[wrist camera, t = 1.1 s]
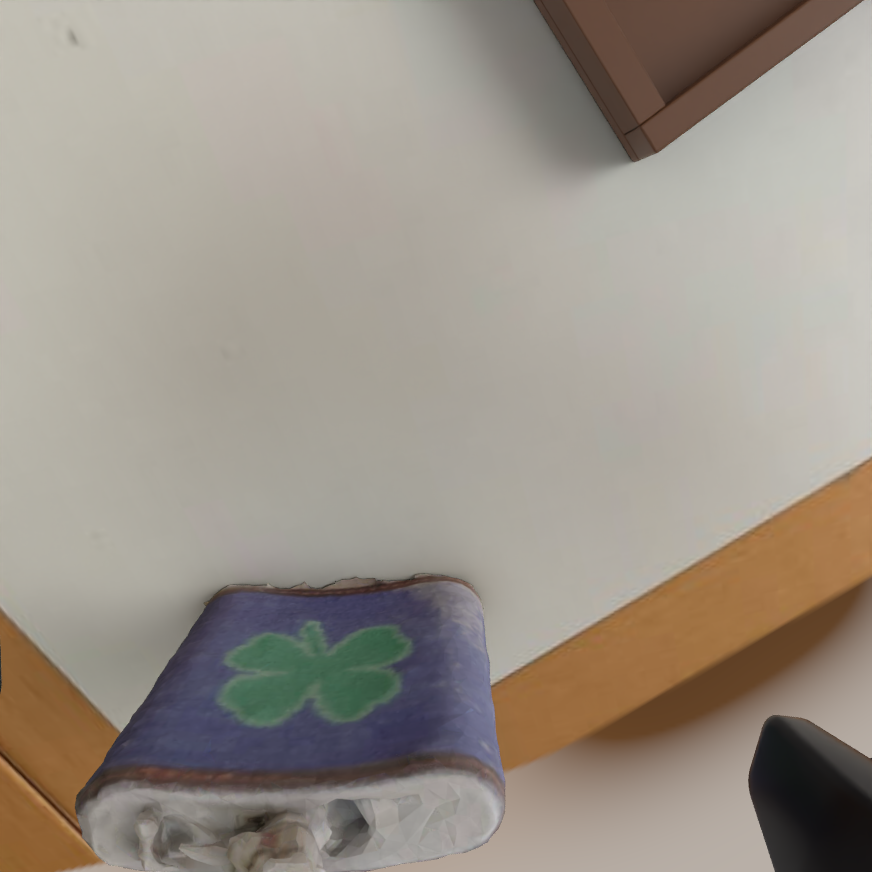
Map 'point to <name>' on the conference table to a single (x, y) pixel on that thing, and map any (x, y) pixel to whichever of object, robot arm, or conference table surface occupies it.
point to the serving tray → (678, 55)
